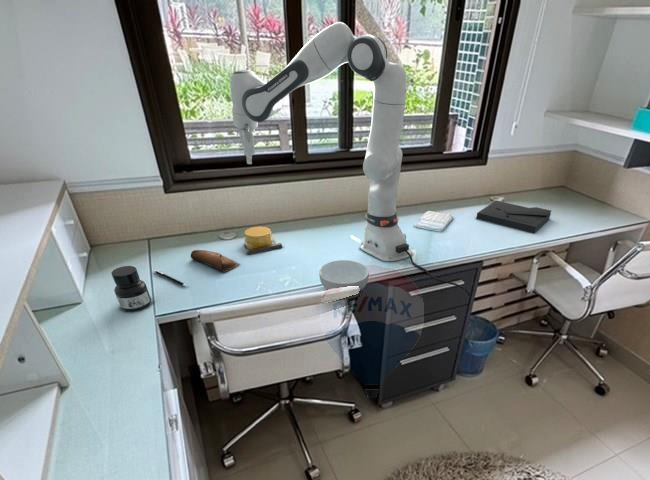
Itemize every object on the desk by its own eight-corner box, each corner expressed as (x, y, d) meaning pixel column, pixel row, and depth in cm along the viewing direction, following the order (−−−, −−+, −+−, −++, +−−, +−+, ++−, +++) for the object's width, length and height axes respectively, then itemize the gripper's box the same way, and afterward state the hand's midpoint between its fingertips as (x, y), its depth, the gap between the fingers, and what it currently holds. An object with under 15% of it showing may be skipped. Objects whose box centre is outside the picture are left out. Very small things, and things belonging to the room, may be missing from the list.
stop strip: (282, 247, 166) (281, 244, 165) (248, 254, 160) (247, 251, 159) (280, 246, 167) (280, 242, 166) (247, 253, 161) (246, 249, 160)
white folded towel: (453, 218, 197) (453, 214, 196) (441, 232, 182) (441, 228, 181) (427, 213, 201) (427, 209, 200) (413, 227, 186) (413, 223, 185)
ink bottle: (118, 314, 124) (104, 280, 117) (120, 300, 131) (106, 267, 124) (153, 308, 128) (141, 274, 120) (153, 294, 134) (141, 262, 127)
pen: (155, 271, 147) (154, 268, 146) (188, 286, 138) (187, 284, 138) (153, 272, 146) (152, 269, 146) (186, 287, 138) (185, 285, 137)
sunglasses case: (240, 263, 152) (230, 252, 147) (229, 278, 150) (219, 267, 145) (208, 251, 160) (198, 240, 154) (198, 265, 158) (187, 255, 152)
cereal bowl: (350, 307, 131) (350, 288, 126) (310, 292, 138) (308, 274, 133) (377, 285, 142) (378, 267, 138) (339, 273, 149) (338, 255, 145)
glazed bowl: (277, 246, 166) (275, 233, 163) (250, 252, 162) (248, 238, 158) (268, 236, 174) (266, 224, 171) (242, 241, 169) (240, 229, 166)
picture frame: (549, 218, 199) (494, 206, 212) (551, 210, 197) (496, 198, 210) (534, 233, 184) (476, 218, 197) (536, 224, 181) (477, 210, 194)
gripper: (257, 129, 144) (259, 168, 153) (251, 114, 158) (253, 151, 167) (238, 128, 142) (242, 168, 150) (234, 113, 156) (237, 151, 165)
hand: (248, 159), depth 159 cm, fingers open, 8 cm apart
